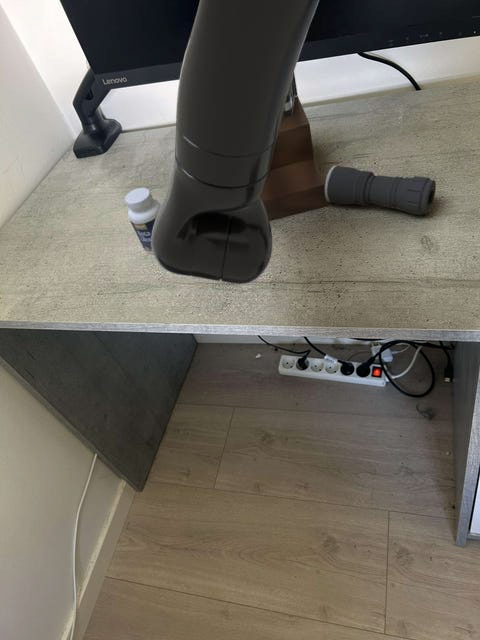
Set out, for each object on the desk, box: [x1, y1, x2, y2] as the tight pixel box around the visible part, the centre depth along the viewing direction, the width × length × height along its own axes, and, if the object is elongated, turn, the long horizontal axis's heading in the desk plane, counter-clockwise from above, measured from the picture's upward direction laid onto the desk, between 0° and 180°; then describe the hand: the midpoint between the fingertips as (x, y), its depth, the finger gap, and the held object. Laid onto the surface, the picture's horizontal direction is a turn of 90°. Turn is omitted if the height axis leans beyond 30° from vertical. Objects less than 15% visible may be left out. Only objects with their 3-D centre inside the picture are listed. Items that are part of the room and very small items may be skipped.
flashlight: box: [324, 165, 437, 216], centre depth 72 cm, size 15×5×5 cm, turn 59°
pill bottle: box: [124, 187, 162, 255], centre depth 78 cm, size 5×5×10 cm
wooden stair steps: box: [260, 73, 328, 221], centre depth 79 cm, size 14×19×16 cm
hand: (240, 79), depth 64 cm, fingers open, 8 cm apart
